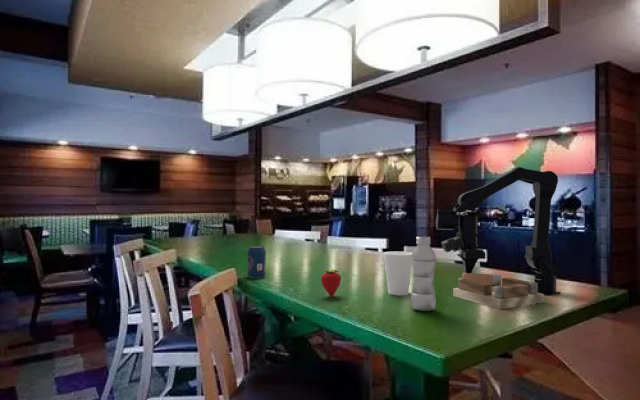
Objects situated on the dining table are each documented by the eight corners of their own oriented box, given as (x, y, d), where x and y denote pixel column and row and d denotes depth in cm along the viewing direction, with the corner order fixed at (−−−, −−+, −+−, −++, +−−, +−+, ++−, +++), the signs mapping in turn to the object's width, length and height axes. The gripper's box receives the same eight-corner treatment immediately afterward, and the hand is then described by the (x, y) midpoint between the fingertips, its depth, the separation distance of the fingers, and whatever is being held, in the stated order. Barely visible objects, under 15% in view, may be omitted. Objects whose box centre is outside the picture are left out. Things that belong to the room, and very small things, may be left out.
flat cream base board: (494, 291, 140) (494, 274, 140) (543, 302, 124) (543, 283, 124) (453, 296, 133) (453, 278, 133) (499, 309, 116) (499, 288, 116)
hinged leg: (500, 283, 139) (500, 273, 139) (502, 285, 135) (502, 275, 136) (462, 281, 142) (462, 272, 142) (463, 283, 138) (463, 274, 138)
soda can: (245, 276, 167) (245, 246, 168) (261, 275, 171) (262, 245, 171) (251, 279, 161) (251, 247, 161) (268, 277, 165) (268, 247, 165)
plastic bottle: (417, 306, 120) (417, 235, 120) (439, 310, 115) (440, 237, 115) (406, 310, 115) (406, 237, 115) (429, 314, 110) (429, 238, 110)
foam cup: (391, 297, 131) (391, 255, 131) (379, 291, 140) (379, 252, 140) (418, 295, 134) (418, 254, 134) (405, 289, 143) (405, 251, 143)
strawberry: (317, 297, 130) (317, 265, 130) (328, 293, 137) (328, 262, 137) (334, 299, 127) (334, 266, 127) (344, 295, 134) (344, 263, 134)
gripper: (437, 227, 152) (437, 270, 152) (449, 232, 133) (449, 281, 133) (469, 227, 151) (469, 271, 151) (486, 232, 132) (485, 282, 132)
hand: (467, 276), depth 142 cm, fingers closed
